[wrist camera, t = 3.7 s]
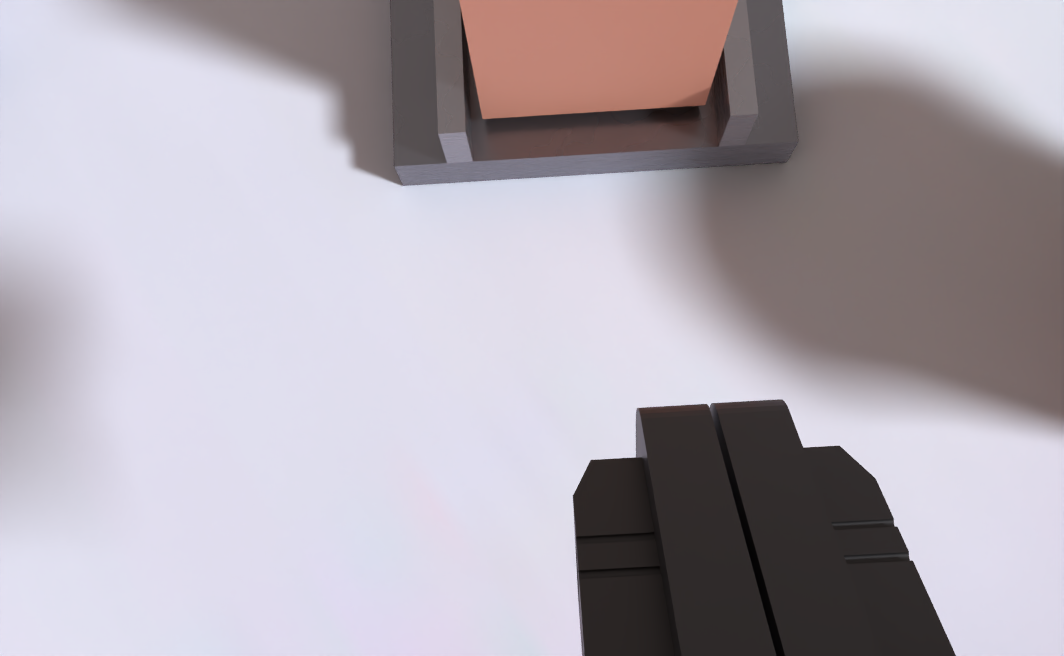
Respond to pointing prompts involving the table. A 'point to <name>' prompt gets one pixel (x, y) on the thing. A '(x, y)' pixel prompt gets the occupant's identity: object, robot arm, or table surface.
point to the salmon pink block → (593, 54)
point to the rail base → (582, 138)
